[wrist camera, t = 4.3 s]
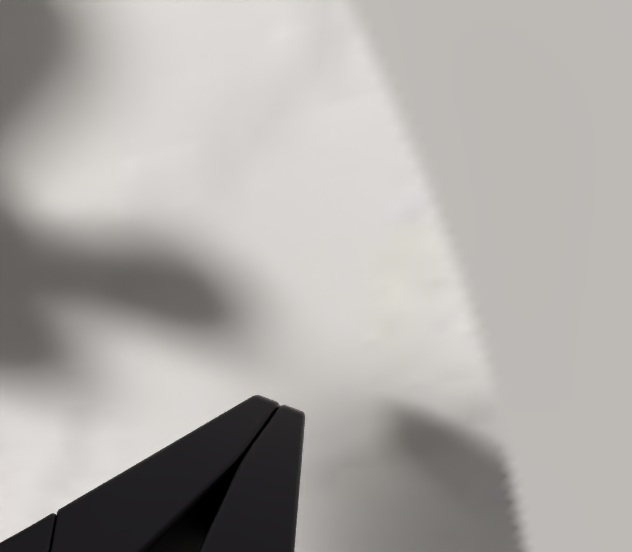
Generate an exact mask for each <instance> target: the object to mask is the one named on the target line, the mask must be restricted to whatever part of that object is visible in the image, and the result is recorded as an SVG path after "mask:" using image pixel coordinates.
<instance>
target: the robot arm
mask: <svg viewBox="0 0 632 552" xmlns="http://www.w3.org/2000/svg"><path fill="white" fill-rule="evenodd" d="M304 426H305V414H304V412H302V411H300V410H297V409H294V408H292V407H289V406H286V405H281V406H280V405H279V403H277V402H276V401H273V400H271V399H268V398H265V397H263V396H260V395H255V396H252V397H250V398H249V399H247V400H245V401H244V402H242V403H240V404H239V405H237V406H235V407H233V408H232V409H230V410H228V411H227V412H225V413H223V414H221V415H220V416H218V417H216V418H215V419H213V420H211V421H209V422H208V423H206V424H204V425H203V426H201V427H199V428H198V429H196V430H194V431H192V432H191V433H189V434H187V435H186V436H184V437H182V438H180V439H179V440H177V441H175V442H174V443H172V444H170V445H168V446H167V447H165V448H163V449H162V450H160V451H158V452H156V453H155V454H153V455H151V456H150V457H148V458H146V459H145V460H143V461H141V462H139V463H138V464H136V465H134V466H133V467H131V468H129V469H127V470H126V471H124V472H122V473H121V474H119V475H117V476H115V477H114V478H112V479H110V480H109V481H107V482H105V483H103V484H102V485H100V486H98V487H97V488H95V489H93V490H92V491H90V492H88V493H86V494H85V495H83V496H81V497H80V498H78V499H76V500H74V501H73V502H71V503H69V504H68V505H66V506H64V507H62V508H61V509H59V510H58V512H57V516H56V514H54V513H52V514H50V515H48V516H47V517H45V518H43V519H42V520H40V521H38V522H36V523H35V524H33V525H31V526H30V527H28V528H26V529H24V530H22V531H21V532H19V533H17V534H15V535H13V536H12V537H10V538H8V539H6V540H4V541H3V542H1V543H0V552H294V548H295V536H296V524H297V512H298V499H299V487H300V475H301V463H302V450H303V438H304Z"/></svg>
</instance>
